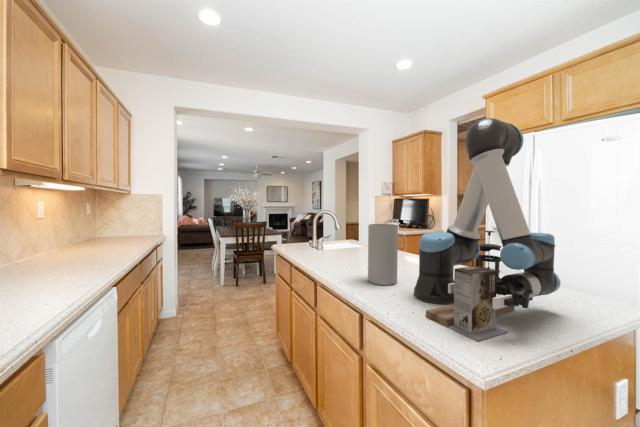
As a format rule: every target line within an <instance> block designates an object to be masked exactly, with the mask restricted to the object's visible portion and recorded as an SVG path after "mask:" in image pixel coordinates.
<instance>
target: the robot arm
mask: <svg viewBox="0 0 640 427" xmlns="http://www.w3.org/2000/svg"><path fill="white" fill-rule="evenodd" d="M465 134H466V135H465V139H464V140H465V150H466V153H467V156H468V158H469V162H470V163H471V164H473V165H474V167H473V169H472V172H471V174H470V175H471V176H470V179H469V181H468V183H467V186H466V188H465V192H464V194H463V197H462V201H461V203H460V205H459V208H458V211H457V214H456V216H455V220H454V222H453V223H452V224H451V225H449V226H447V228H446V231H444V232H443V231H435V232H428V233H424V234H423V235H421V236H420V239H419V245H418V248H419V258H418V259H419V262H418V263H419V265H418V267H419V268H418V271H419V272H418V277H417V279H416V283H415V286H414V288H413V296H414V298H416V299H418V300H420V301H423V302H426V303H427V302H428V303H431V304H439V305H452V304H454V269H455V268H454V267H455V266H460V265H461V266H462V265H467V264H469V263H471V262H473V261H475V260H476V257H477V256H478V255H480V252H481V251H480V245H479V244H480V243H479V241H480V238H481V235H480V234H479V232H478V231H479V229H480V226H481V223H482V222H483V219H484V215H485V214H486V211H487V209H488V207H489V209H490V211H491V215H492V218H493V220H494V224H495V227H496V230H497V232H498V236H499V239H500V242H501V244H502V245H501V246H502V247H501V249H500V251H499V254H500V255H499V257H500V258H501V262H502V264H503V265H505V266H506V267H507V268H508V269H511V270H515V271H520V270H523V272H516V273H511V274H506V275H503V276H502V277H500V278H501V279H500V281H496V295H497V296H496V297H494V298H493V304H492V308H493V309H499V308H504V307H508V306H513V305H514V307H519V306H521V307H522V308H523V309H528V308H529V305H530V301H533V299H534V298H535V297H540V296H541V297H542V296H548V295H550V294H552V293H556V291H558V290H559V289H560V286H561V279H560V277H559V275H558V274H557V273H555V249H556V244H555V235H553V234H551V233H544V232H530V230H529V226H528V224H527V221H526V218H525V215H524V213H523V210H522V206H521V205H520V202H519V198H518V196H517V194H516V190H515V188H514V185H513V182H512V179H511V177H510V174H509V172H508V169H507V167H509V166H510V164H511V161H512V158H513V157H515V156H516V155H518V153H519V152H520V151H521V150H522V148H523V146H524V142H525V141H524V135H523V133H522V131H521V129H520V128H518V127H517V126H516V125H514V124H513V123H510V122H506V121H502V120H500V119H497V118H493V117H486V118H482V119H480V120H477V121H476V122H474V123H473V124H472V125H471V126H469V128H468V130H467V131H466V133H465ZM499 295H500V296H499Z"/></svg>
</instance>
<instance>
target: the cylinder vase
mask: <svg viewBox="0 0 640 427" xmlns="http://www.w3.org/2000/svg"><path fill="white" fill-rule="evenodd" d="M398 227H399V225H398V224H393V223H370V224H369V223H368V228H367V229H368V235H367V236H368V238H367V243H368V244H367V254H368V256H367V281H368V282H369V283H370V284H374V285H376V286H377V285H378V286H391V285H395V284H396V283H398V247H399V246H398V243H399V242H398V241H399V240H398V238H399V236H398V235H399V228H398Z"/></svg>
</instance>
